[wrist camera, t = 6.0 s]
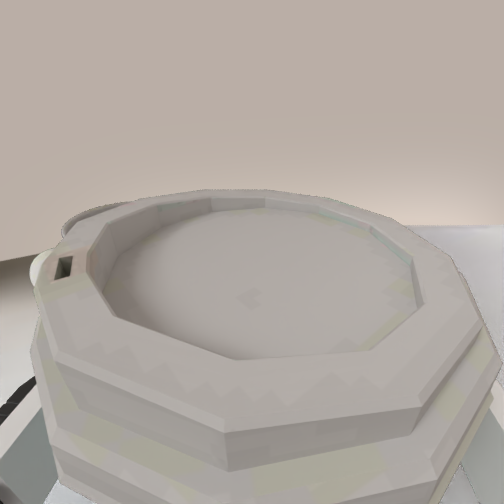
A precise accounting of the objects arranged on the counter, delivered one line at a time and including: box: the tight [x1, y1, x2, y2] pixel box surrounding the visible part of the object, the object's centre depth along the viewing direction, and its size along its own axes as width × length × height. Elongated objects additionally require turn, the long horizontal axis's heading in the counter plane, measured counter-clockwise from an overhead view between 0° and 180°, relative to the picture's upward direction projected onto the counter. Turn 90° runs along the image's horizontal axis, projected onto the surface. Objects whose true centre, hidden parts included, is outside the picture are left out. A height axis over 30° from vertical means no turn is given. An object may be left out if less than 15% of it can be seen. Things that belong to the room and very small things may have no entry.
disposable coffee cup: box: [30, 190, 503, 504], centre depth 11 cm, size 11×11×15 cm
